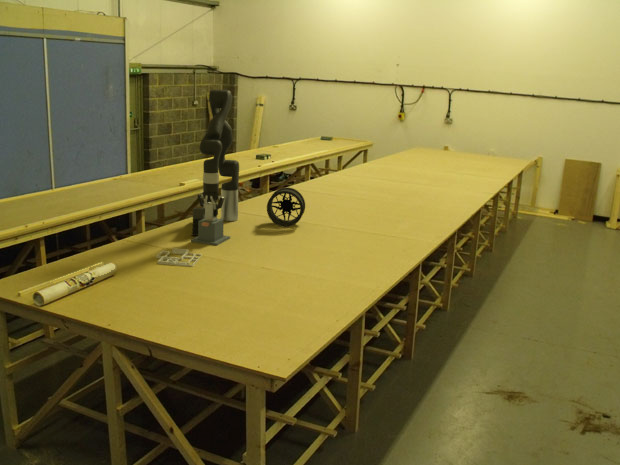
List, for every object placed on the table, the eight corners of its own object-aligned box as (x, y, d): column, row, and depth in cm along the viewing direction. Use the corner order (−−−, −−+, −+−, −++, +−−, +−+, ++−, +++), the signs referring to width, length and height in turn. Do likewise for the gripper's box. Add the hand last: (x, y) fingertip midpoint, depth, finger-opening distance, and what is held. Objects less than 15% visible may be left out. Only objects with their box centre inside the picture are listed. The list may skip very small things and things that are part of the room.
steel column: (209, 233, 304) (209, 202, 300) (216, 234, 303) (217, 203, 298) (204, 235, 300) (204, 203, 296) (212, 236, 299) (212, 204, 295)
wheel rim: (304, 223, 340) (306, 188, 334) (302, 228, 331) (304, 191, 325) (268, 221, 341) (269, 186, 336) (266, 225, 333) (267, 189, 327)
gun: (191, 234, 304) (191, 204, 305) (195, 236, 334) (196, 209, 334) (204, 235, 305) (205, 205, 306) (207, 237, 334) (208, 209, 335)
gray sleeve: (205, 234, 311) (205, 215, 308) (230, 238, 306) (230, 218, 304) (191, 241, 298) (191, 221, 295) (216, 245, 294) (216, 225, 291)
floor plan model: (151, 250, 284) (151, 246, 283) (204, 254, 281) (204, 250, 281) (136, 263, 266) (136, 258, 265) (192, 267, 263) (192, 263, 263)
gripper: (227, 181, 295) (227, 216, 300) (201, 178, 300) (201, 212, 305) (220, 184, 289) (220, 219, 293) (193, 181, 293) (194, 215, 298)
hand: (210, 215), depth 299 cm, fingers closed on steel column, 4 cm apart
